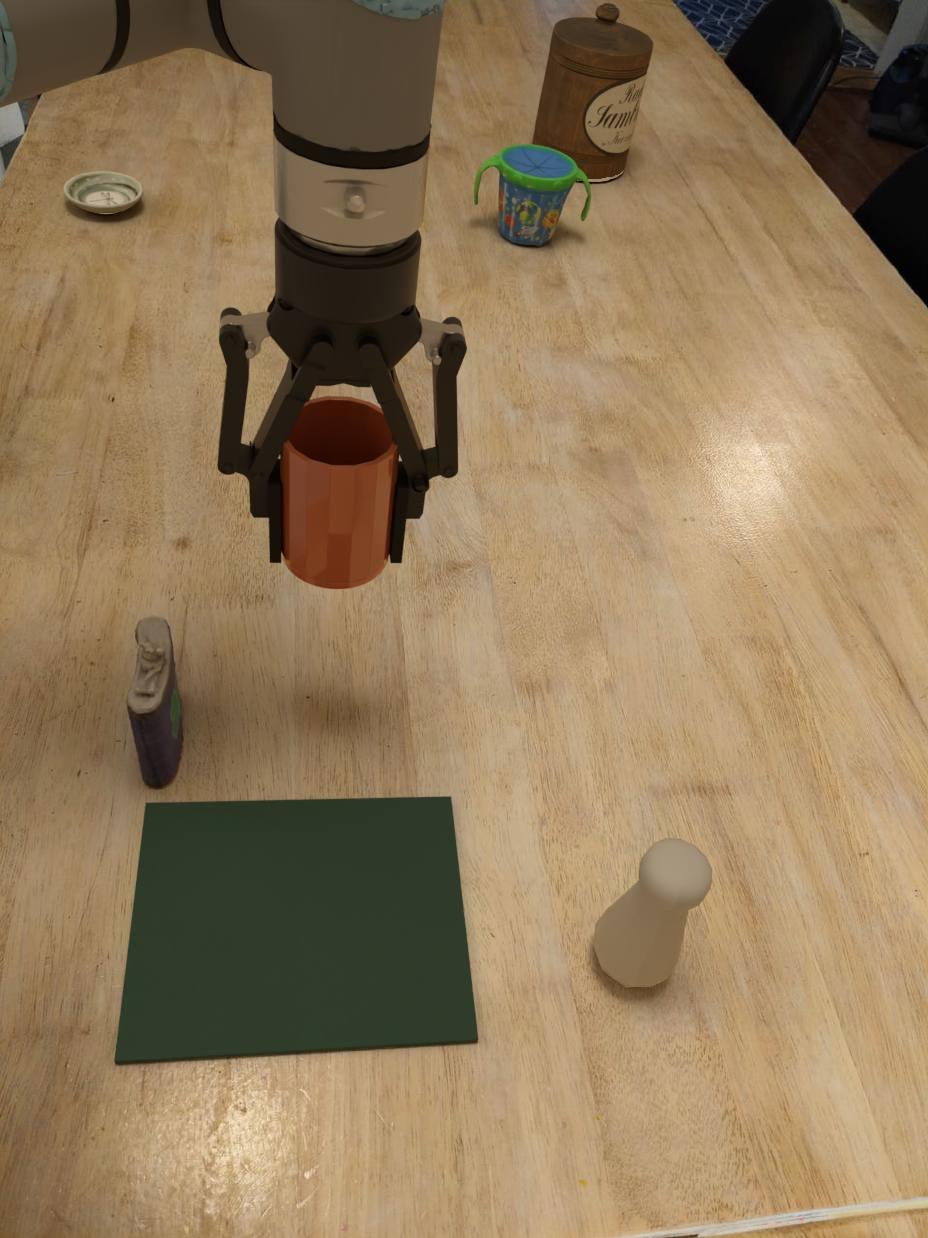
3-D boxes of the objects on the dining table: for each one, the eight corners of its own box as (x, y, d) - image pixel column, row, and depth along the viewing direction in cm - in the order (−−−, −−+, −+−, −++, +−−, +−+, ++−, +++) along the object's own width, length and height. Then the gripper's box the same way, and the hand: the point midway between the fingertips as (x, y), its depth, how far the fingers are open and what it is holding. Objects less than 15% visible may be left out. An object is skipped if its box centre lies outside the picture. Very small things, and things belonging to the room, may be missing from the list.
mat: (115, 1064, 61) (114, 1061, 61) (146, 806, 73) (145, 802, 73) (477, 1042, 65) (478, 1039, 64) (450, 799, 77) (451, 796, 76)
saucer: (51, 198, 131) (48, 179, 129) (121, 182, 136) (118, 164, 134) (89, 230, 127) (86, 211, 125) (159, 213, 132) (157, 195, 130)
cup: (281, 589, 66) (279, 467, 59) (281, 515, 71) (279, 394, 64) (392, 589, 67) (404, 470, 60) (385, 516, 72) (395, 397, 65)
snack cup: (583, 228, 144) (599, 155, 136) (578, 263, 136) (594, 188, 129) (474, 207, 144) (484, 133, 136) (463, 241, 137) (473, 165, 129)
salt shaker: (568, 950, 70) (612, 852, 60) (625, 904, 73) (676, 804, 63) (630, 1018, 67) (685, 927, 58) (686, 967, 70) (748, 873, 61)
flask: (148, 690, 80) (133, 596, 72) (186, 690, 81) (176, 596, 73) (138, 791, 74) (121, 699, 66) (180, 789, 75) (168, 698, 67)
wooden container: (598, 193, 152) (634, 30, 136) (513, 160, 156) (538, -1, 140) (639, 163, 161) (678, 8, 145) (557, 133, 166) (586, -21, 150)
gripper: (136, 246, 48) (177, 589, 65) (554, 269, 51) (490, 588, 68) (150, 175, 53) (184, 510, 70) (529, 200, 56) (475, 513, 73)
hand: (335, 548), depth 69 cm, fingers closed on cup, 7 cm apart
